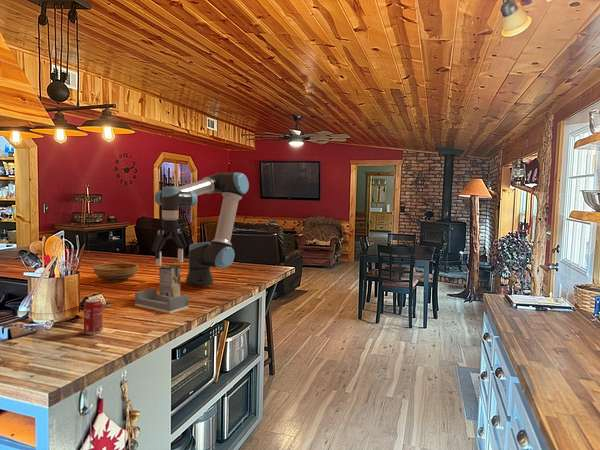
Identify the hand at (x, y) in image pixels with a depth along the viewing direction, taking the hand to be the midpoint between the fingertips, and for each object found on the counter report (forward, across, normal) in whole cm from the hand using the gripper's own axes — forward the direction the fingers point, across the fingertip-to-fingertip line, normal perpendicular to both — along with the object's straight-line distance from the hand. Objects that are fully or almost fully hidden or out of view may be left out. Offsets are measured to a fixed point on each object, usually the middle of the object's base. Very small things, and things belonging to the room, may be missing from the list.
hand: (169, 263), depth 210 cm
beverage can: (+18, +50, +14) cm, 55 cm away
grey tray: (+17, +11, +7) cm, 22 cm away
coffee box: (+18, 0, 0) cm, 18 cm away
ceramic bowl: (+17, -14, -58) cm, 62 cm away
